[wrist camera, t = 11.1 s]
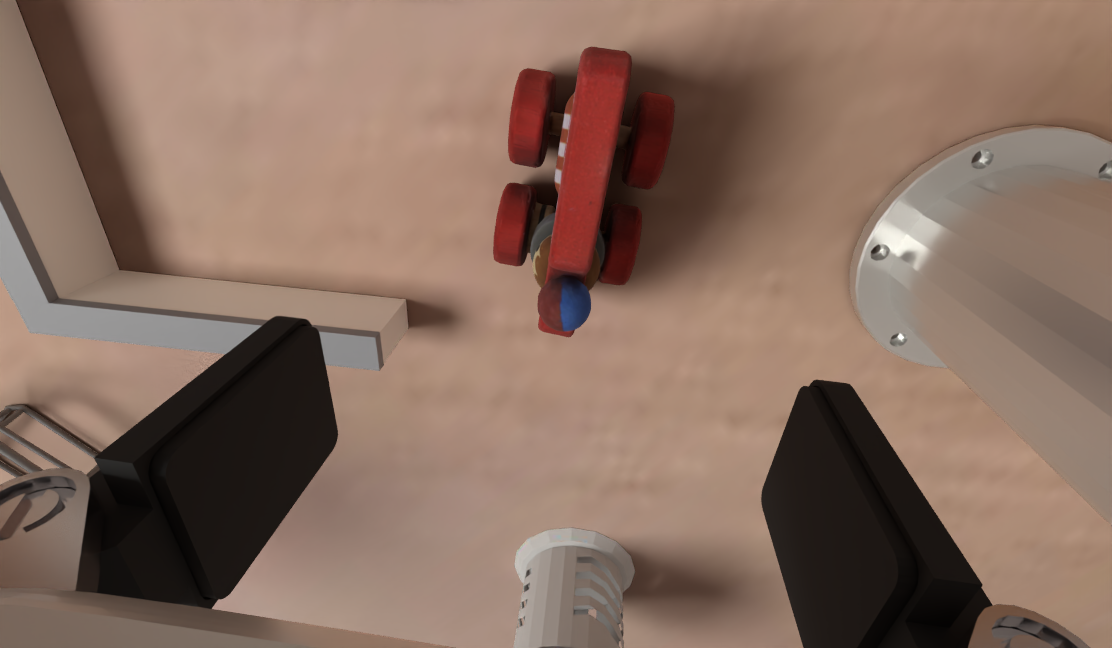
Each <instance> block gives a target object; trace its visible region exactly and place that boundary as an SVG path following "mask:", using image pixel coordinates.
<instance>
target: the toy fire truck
mask: <svg viewBox="0 0 1112 648" xmlns="http://www.w3.org/2000/svg"><path fill="white" fill-rule="evenodd" d="M631 67H632V60H631V56H630V55H629V54H628V53H627V52H625V51H619V50H611V49H604V48H598V47H589V48H586V49H584V51H583V53H582V55H581V57H580V63H579V68H578V75H577V83H576V89H575V93H574V94H573V95H572V96H571V97H570V99H569V100H568V102H567V104H566V108H565V113H564V114H561V113H556V112H553V110H554V101H555V91H556V80H555V76H554V75H553V74H552V73H551V72H547V71H541V70H535V69H529V68H527V69H524V70H522V71H521V72H520V74H519V77H518V80H517V83H516V86H515V91H514V96H513V101H512V107H511V114H510V124H509V137H508V152H509V158H510V160H511V161H512V162H513V163H515V164H519V165H524V166H529V167H534V168H536V167H540V166H541V165H542V164H543V162H544V159H545V155H546V151H547V147H548V142H549V136H550V134H553V135H557V136H561V138H560V145H559V152H558V158H557V165H556V172H555V187H556V190H557V192H558V194H559V195H558V201H557V207H556V210H555V208H554V207H553V206H550V205H543V204H540V203H537V202H536V201H537V191H536V189H535V188H534V187H532V186H529V185H523V184H518V183H509V184H507V186H506V187H505V189H504V191H503V194H502V197H501V201H500V205H499V209H498V214H497V219H496V226H495V233H494V247H493V254H494V259H495V261H497V262H499V263H502V264H507V265H513V266H521V265H523V263H524V262H525V260H526V257H527V253H531V259H532V262H533V273H534V276H535V279H536V281H537V283H538V284H539V286H540V287H541V288H542V289H541V291H540V293H539V295H538V312H539V315H540V317H539V323H538V327H539V329H540V330H541V331H543V332H547V333H551V334H556V335H561V336H565V337H571V336H572V335H573V333H574V331H575V329H577V328H579V327H580V326H581V325H582V324H583V323H584V322H585V321H586V320H587V318H588V316H589V313H590V310H591V298H590V294H589V292H588V291H589V290H590V289H591V288H592V287H593V286H594V284H595V283H596V281H597V279H598V280H599V281H600V282H602V283H608V284H614V285H624V284H625V283H626V282H627V281H628V279H629V277H630V275H631V272H632V269H633V266H634V263H635V259H636V254H637V250H638V246H639V241H640V235H641V225H642V214H641V211H640V209H639V208H638V207H635V206H629V205H623V204H613V205H612V206H611V207H610V210H609V213H608V216H607V220H606V223H605V227H604V232H601V230H600V229H599V226H600V220H601V215H602V211H603V206H604V201H605V196H606V192H607V187H608V182H609V177H610V172H611V167H612V162H613V158H614V153H615V148H616V147H617V148H621V149H625V154H624V161H623V168H622V181H623V182H624V184H625V185H627V186H631V187H637V188H642V189H650V188H652V187H653V186H654V185H655V184H656V183H657V181H658V179H659V177H660V175H661V172H662V169H663V166H664V163H665V159H666V155H667V151H668V148H669V144H670V139H671V134H672V129H673V122H674V107H675V106H674V100H673V99H672V98H671V97H669V96H667V95H661V94H655V93H651V92H644V93H642V94H641V95H640V96H639V98H638V100H637V103H636V106H635V109H634V113H633V116H632V120H631V124H630V127H628V126H625V125H621V120H622V115H623V110H624V106H625V100H626V96H627V91H628V87H629V83H630V76H631Z"/></svg>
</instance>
